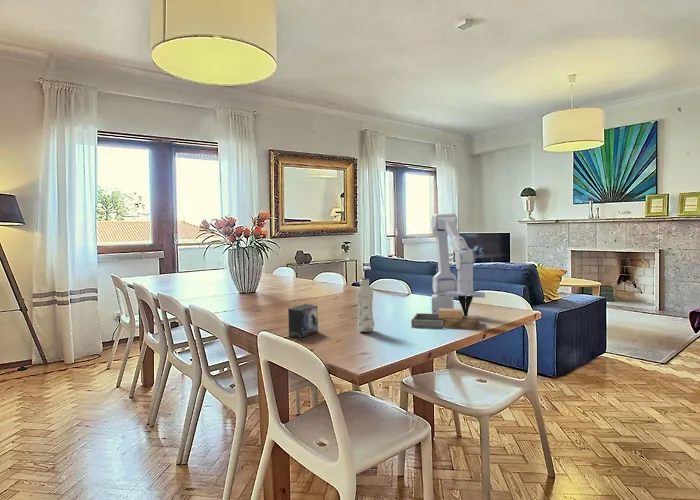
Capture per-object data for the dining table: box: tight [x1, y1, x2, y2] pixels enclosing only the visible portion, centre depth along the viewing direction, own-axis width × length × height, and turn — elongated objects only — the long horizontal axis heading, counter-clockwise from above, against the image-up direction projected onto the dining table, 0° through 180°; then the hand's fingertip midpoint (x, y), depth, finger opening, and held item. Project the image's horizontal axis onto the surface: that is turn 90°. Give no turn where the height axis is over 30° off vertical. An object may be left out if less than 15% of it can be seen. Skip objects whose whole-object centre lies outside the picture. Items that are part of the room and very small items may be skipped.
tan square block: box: [439, 308, 451, 318], centre depth 172 cm, size 4×4×3 cm
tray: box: [411, 312, 444, 329], centre depth 174 cm, size 12×13×3 cm
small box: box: [287, 303, 319, 339], centre depth 164 cm, size 11×6×10 cm, turn 148°
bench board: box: [442, 314, 480, 330], centre depth 170 cm, size 13×10×3 cm
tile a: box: [450, 308, 464, 319], centre depth 171 cm, size 4×4×3 cm
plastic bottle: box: [356, 278, 375, 333], centre depth 164 cm, size 6×7×20 cm
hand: (465, 315), depth 170 cm, fingers closed
